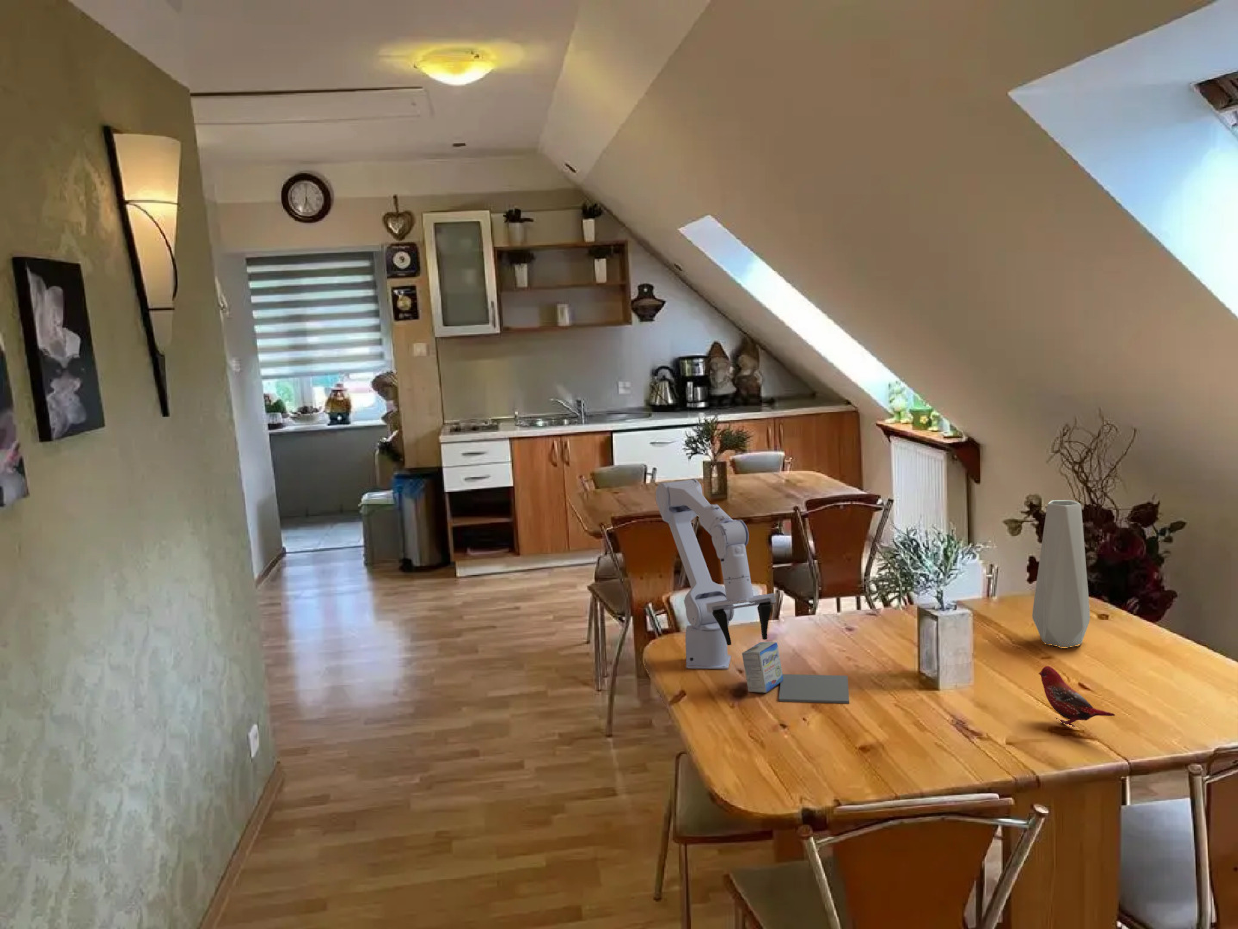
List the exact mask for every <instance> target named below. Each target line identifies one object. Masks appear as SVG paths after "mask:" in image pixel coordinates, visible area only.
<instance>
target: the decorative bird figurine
mask: <svg viewBox="0 0 1238 929" xmlns="http://www.w3.org/2000/svg"><path fill="white" fill-rule="evenodd" d="M1038 675H1040V677H1041V678H1040V679H1041V683H1042V686H1043V690H1044V694H1045V697H1046V699H1047V701H1048V703H1049V704H1050V705H1051V707H1052V709H1054V710H1055V712H1056V713H1057V714H1058V715H1060V716H1062V717H1063V718H1064V719H1067V720H1064V719H1059V718H1058V717H1055V718H1056V719H1055V720H1057V719H1059V720H1060V721H1061V722H1062V723H1065V724H1069V725H1072V727H1073V728H1074V727H1076V725H1074V724H1073V723H1076V722H1077V721H1084V722H1085V721H1088V720H1089V719H1090V720H1091V718H1093V717H1097V716H1101V717H1103V716H1104V717H1107V716H1108V717H1114V716H1116V714H1114V713H1112V712H1109V711H1106V710H1101V709H1097V708H1094V707H1093V705H1092V704H1091V703H1089V701H1087V700H1086V698H1085V697H1084V696H1082V694H1080V693H1078V692H1077V691H1076V690H1074V689H1073V688H1072V687H1070V686H1069V684H1067V682H1065V681H1064V679H1063V678H1062V676H1061V675H1060V674H1059V672H1058V671H1057V670H1055V669H1054V667H1052V666H1049V665H1045V666H1043V668H1041V671H1040V672H1038ZM1060 721H1059V722H1060ZM1061 722H1060V723H1061ZM1062 723H1061V724H1062Z"/></svg>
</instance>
